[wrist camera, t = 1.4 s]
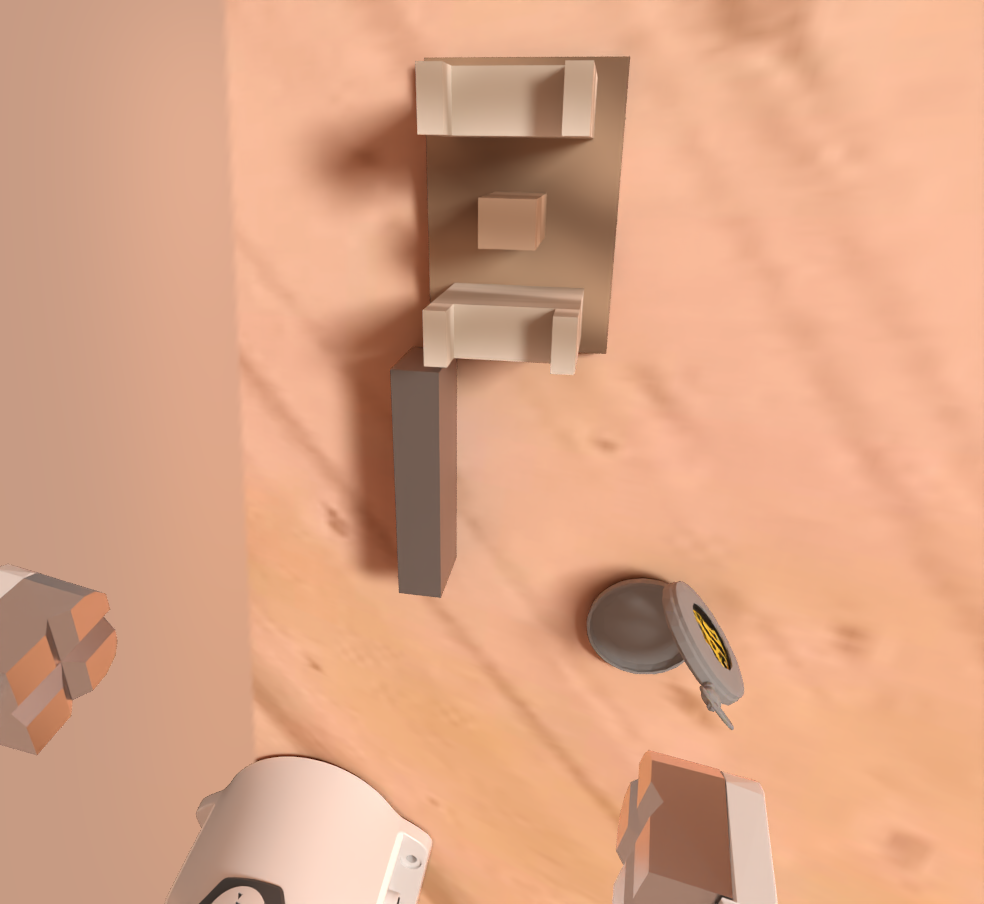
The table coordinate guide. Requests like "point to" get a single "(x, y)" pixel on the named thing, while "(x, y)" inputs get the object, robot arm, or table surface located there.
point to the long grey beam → (424, 472)
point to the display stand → (520, 205)
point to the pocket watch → (665, 637)
